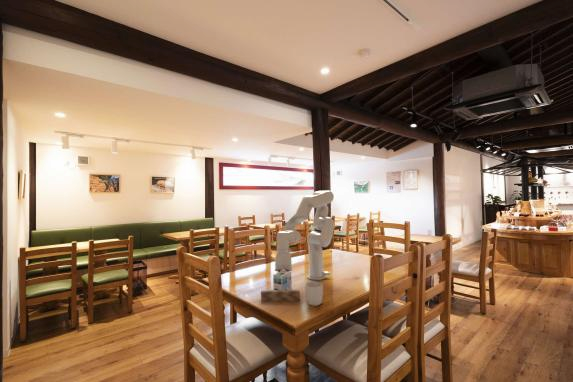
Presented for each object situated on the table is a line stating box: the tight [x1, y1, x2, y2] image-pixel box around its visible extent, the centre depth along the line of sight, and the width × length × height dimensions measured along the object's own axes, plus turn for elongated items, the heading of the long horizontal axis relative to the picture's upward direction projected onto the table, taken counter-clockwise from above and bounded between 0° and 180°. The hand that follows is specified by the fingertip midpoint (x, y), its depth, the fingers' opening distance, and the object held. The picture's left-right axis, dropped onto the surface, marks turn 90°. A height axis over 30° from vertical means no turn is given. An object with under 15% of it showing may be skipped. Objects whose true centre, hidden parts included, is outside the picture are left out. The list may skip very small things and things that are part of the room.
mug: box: [305, 281, 324, 306], centre depth 143 cm, size 13×9×10 cm
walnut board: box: [260, 289, 301, 302], centre depth 146 cm, size 21×2×5 cm, turn 86°
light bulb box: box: [272, 270, 293, 290], centre depth 160 cm, size 11×7×11 cm, turn 148°
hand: (283, 280), depth 169 cm, fingers closed
